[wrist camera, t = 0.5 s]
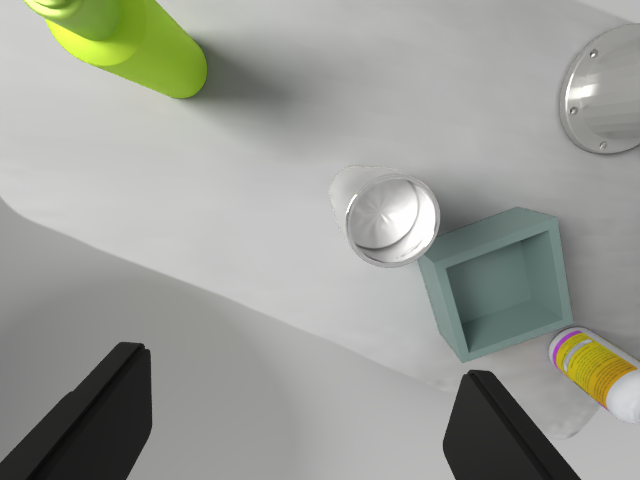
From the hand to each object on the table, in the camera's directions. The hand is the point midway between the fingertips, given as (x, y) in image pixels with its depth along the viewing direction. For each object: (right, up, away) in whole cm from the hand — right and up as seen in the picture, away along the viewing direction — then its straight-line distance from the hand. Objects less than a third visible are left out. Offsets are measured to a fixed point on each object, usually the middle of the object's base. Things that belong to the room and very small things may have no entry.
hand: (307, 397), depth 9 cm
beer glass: (+4, +10, +26) cm, 29 cm away
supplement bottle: (+35, -10, +34) cm, 50 cm away
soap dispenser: (-13, +22, +22) cm, 34 cm away
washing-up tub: (+20, +1, +30) cm, 36 cm away
